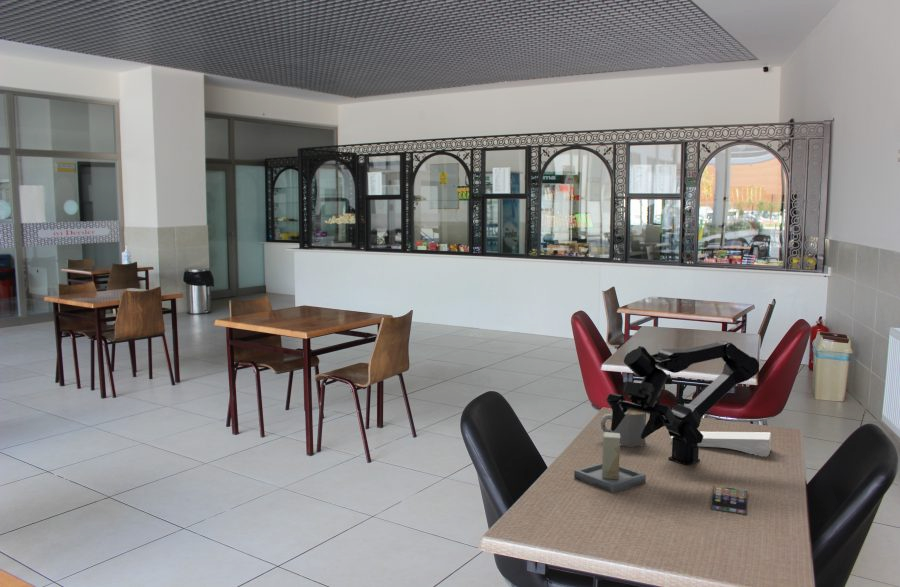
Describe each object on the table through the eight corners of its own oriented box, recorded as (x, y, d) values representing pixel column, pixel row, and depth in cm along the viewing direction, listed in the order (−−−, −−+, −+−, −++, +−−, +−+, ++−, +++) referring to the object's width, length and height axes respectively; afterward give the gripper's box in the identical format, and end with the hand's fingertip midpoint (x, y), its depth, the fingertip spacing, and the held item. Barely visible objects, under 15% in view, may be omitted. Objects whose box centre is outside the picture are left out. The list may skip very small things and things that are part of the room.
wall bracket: (672, 461, 222) (771, 464, 210) (669, 440, 221) (769, 442, 208) (677, 445, 231) (772, 447, 218) (674, 424, 229) (770, 425, 216)
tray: (574, 477, 190) (574, 470, 190) (606, 468, 198) (606, 461, 198) (612, 492, 180) (613, 485, 180) (645, 482, 188) (645, 474, 187)
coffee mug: (646, 439, 225) (647, 408, 224) (643, 448, 216) (644, 415, 215) (603, 434, 230) (604, 403, 229) (598, 443, 221) (599, 411, 220)
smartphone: (710, 511, 170) (710, 506, 170) (713, 490, 184) (713, 485, 184) (747, 517, 167) (747, 512, 167) (747, 494, 181) (747, 490, 181)
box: (618, 480, 186) (620, 438, 185) (601, 478, 187) (603, 437, 186) (618, 473, 191) (620, 432, 190) (602, 471, 192) (603, 431, 191)
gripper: (610, 364, 201) (585, 410, 195) (671, 375, 187) (646, 425, 181) (625, 388, 207) (602, 432, 201) (685, 400, 193) (661, 448, 187)
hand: (626, 434), depth 192 cm, fingers open, 9 cm apart
